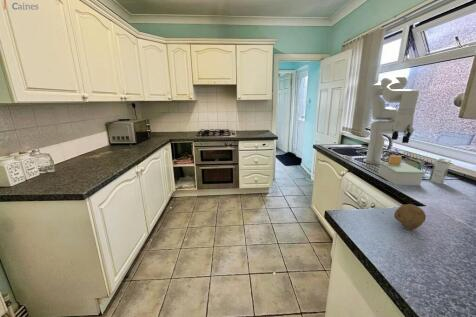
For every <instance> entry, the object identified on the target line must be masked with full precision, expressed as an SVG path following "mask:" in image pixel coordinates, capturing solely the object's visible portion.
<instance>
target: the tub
mask: <svg viewBox="0 0 476 317" xmlns="http://www.w3.org/2000/svg"><path fill="white" fill-rule="evenodd" d="M378 176H380V177H381V178H383V179H384V180H387V181H388V182H390V183H391V184H393V186H394V185H397V186H421V184H422V180H423V177H424V174H402V173H395V172H393V171H391V170H390V169H388V168H386V167H384V166H382V165H381V164H379V170H378Z"/></svg>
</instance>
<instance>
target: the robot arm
mask: <svg viewBox="0 0 476 317" xmlns="http://www.w3.org/2000/svg"><path fill="white" fill-rule="evenodd" d="M407 83H408V80H407V78H406V76H404V75H389V76H384V78H382V79H381V81H380V83H375V84H372V85H371V86H370V88H369V91H368V96H369V101H370V103H371V114H372V116H371V117H372V119H373V120H374V121H373V122H371V124H370V129H369V130H370V136H369V140H368V141H369V142H368V147H367V152H366V155H365V157H366V158H364V159H363V162H364V163H366V164H371V165H380V164H379V163H380V162H383V160H381V159H382V155H383V151H384V147H385V138H384V136H383V135H391V140H392V141H397V140H398V138H399V135H400V134H399V133H403V135H402V140H401V143H402V144H409V142H410V138H411V136H412V135H413V133H414V131H415V128H414V127H413V124H414V115H415V112H416V106H417V103H418V98H419V93H420V92H419V90H418V89H404V88H405V87H406V86H407V85H408V84H407ZM386 102H387V103H389V104H392V103H393V104H399V105H398V110H397V108H394V107H386Z"/></svg>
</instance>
